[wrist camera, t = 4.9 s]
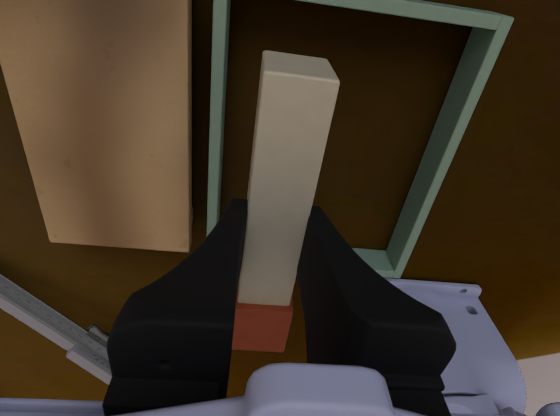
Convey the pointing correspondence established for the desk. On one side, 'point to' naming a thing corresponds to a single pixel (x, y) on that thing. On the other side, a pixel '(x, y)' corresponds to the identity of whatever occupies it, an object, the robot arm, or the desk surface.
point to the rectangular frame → (443, 138)
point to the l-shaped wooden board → (105, 116)
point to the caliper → (58, 329)
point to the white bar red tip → (281, 192)
